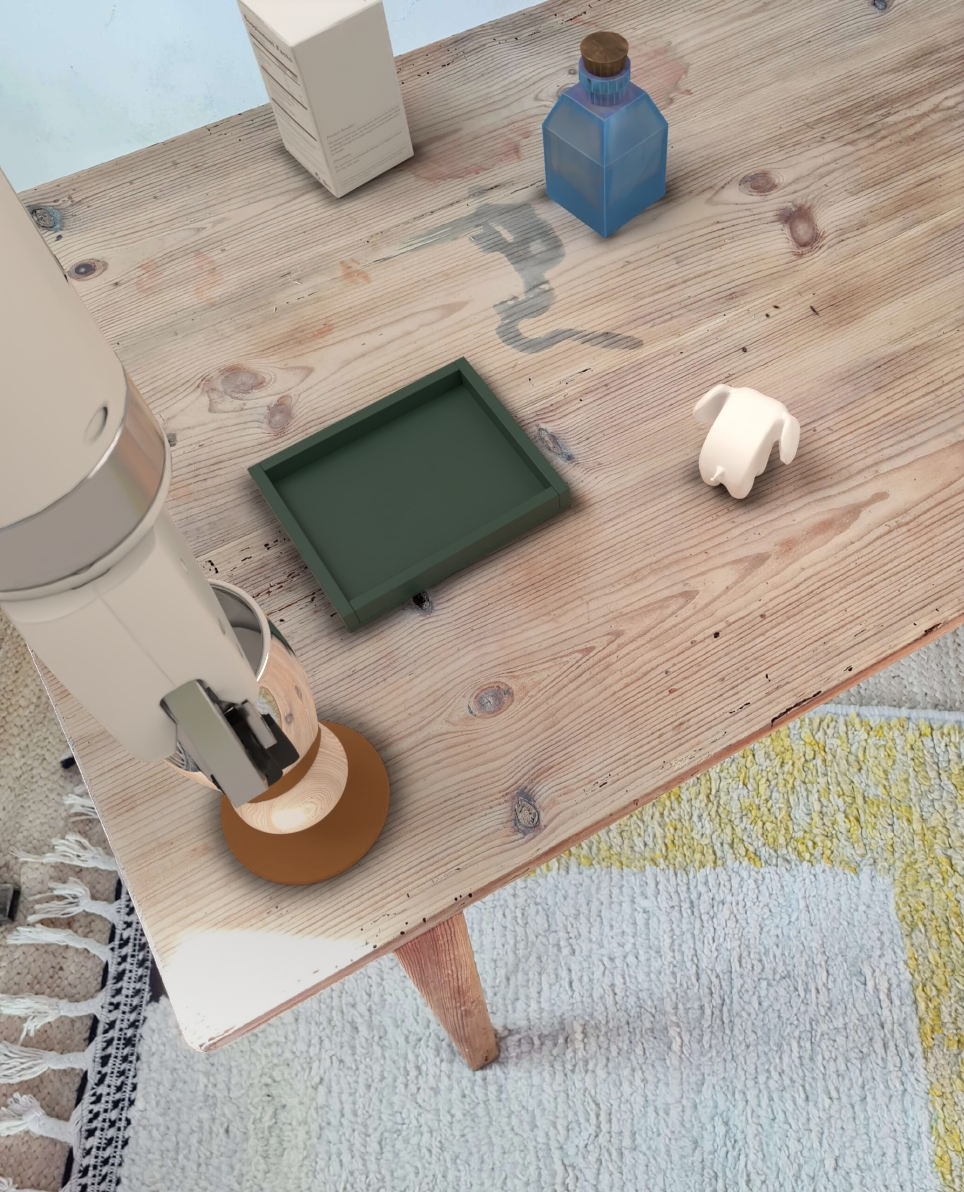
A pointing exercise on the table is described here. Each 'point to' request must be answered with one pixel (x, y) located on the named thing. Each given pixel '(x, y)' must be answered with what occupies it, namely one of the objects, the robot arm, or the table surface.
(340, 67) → the white packaging box
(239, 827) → the coaster
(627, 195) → the perfume bottle
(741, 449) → the elephant figurine
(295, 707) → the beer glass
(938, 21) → the table surface
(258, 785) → the robot arm
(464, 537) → the tray
